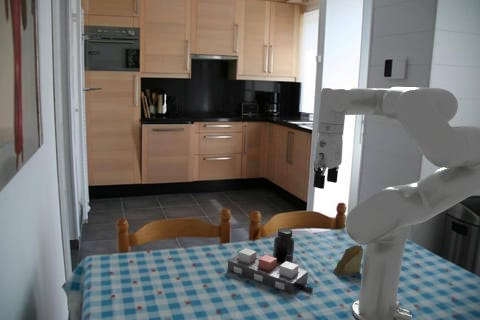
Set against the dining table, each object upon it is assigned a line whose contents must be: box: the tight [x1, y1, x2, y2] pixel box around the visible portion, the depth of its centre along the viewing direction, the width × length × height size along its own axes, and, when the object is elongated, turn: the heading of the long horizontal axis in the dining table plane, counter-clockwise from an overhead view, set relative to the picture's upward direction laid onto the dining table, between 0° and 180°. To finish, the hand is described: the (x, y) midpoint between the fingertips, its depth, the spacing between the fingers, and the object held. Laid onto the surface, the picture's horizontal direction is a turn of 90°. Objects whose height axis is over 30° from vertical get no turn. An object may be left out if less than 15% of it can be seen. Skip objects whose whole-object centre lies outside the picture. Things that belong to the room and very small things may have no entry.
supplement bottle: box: [272, 227, 295, 264], centre depth 144 cm, size 7×7×12 cm
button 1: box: [279, 261, 300, 278], centre depth 130 cm, size 4×4×6 cm
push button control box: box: [227, 253, 314, 295], centre depth 133 cm, size 27×10×4 cm, turn 56°
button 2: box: [258, 254, 277, 271], centre depth 134 cm, size 4×4×6 cm
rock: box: [332, 244, 364, 276], centre depth 141 cm, size 11×9×10 cm
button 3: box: [238, 248, 258, 264], centre depth 138 cm, size 4×4×6 cm
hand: (325, 184), depth 131 cm, fingers open, 9 cm apart
